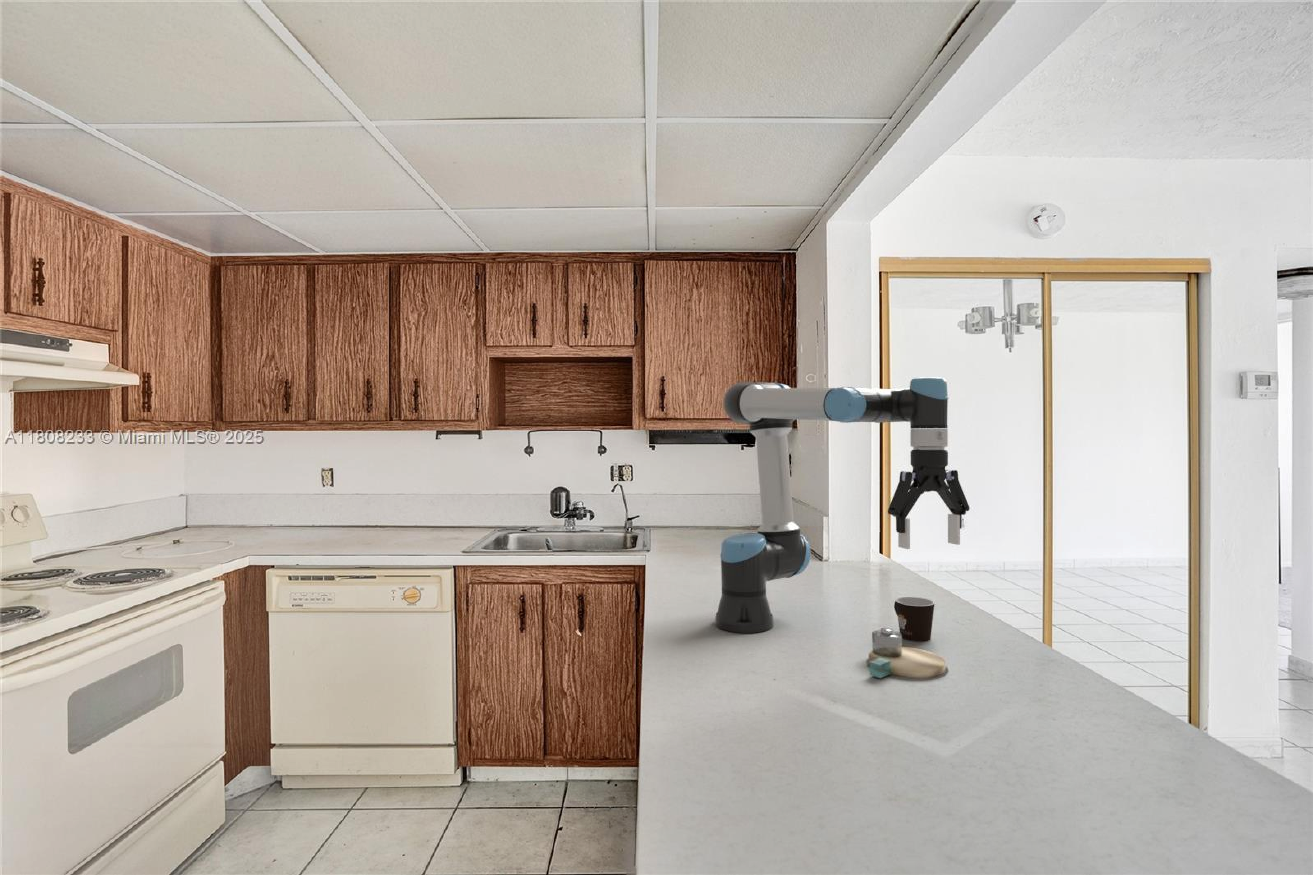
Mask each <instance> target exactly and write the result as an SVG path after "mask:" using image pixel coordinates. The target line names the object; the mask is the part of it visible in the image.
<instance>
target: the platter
mask: <svg viewBox="0 0 1313 875" xmlns="http://www.w3.org/2000/svg"><path fill="white" fill-rule="evenodd" d="M868 658H869V665H870V667H869V675H870V676H872V677H875V678H879V679H882V678H884V677H886V676H887V675H892V676H896V677H902V678H911V679H928V678H935V677H938V676H941V675H943V674H944V673H945V671H946V666H947V665H946V664H947V663H946V660H945V659H944V658H943V657H942V656H941V655H939V654H937V653H935V652H931V651H928V650H924V649H919V648H915V647H907V646H902V655H901V656H899V657H893V658H890V657H882V656H878V655H875V654H874V653H873V652H872V650H870V651H869V653H868Z"/></svg>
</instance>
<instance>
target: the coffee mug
mask: <svg viewBox="0 0 1313 875" xmlns="http://www.w3.org/2000/svg"><path fill="white" fill-rule="evenodd" d="M893 607H894V611H895V612H894V613H895V614H896V616H897V621H898V627H899V628H898V630H899V633H900V634H901V635H902V640H907V641H910V642H918V643H919V642H920V643H921V642H922V643H923V642H929V641H931V636H932V628H933V622H934V621H933V620H934V611H935V601H934V600H931V599H930V598H929V599H928V598H924V597H918V596H917V597H916V596H903V597H902V596H901V597H897V598H896V599H895V601H894V604H893Z"/></svg>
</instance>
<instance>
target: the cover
mask: <svg viewBox="0 0 1313 875" xmlns="http://www.w3.org/2000/svg"><path fill="white" fill-rule="evenodd" d="M871 643H872V649H871V651H872V652H873V653H874V654H875V655H878V656H882V657H890V658H893V657H899V656H901V655H902V647H903V638H902V635H901V634H900V632H898V631H896V630H893V629H892V628H890V627H882V628H880V629H879V630H874V631H872V632H871Z"/></svg>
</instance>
